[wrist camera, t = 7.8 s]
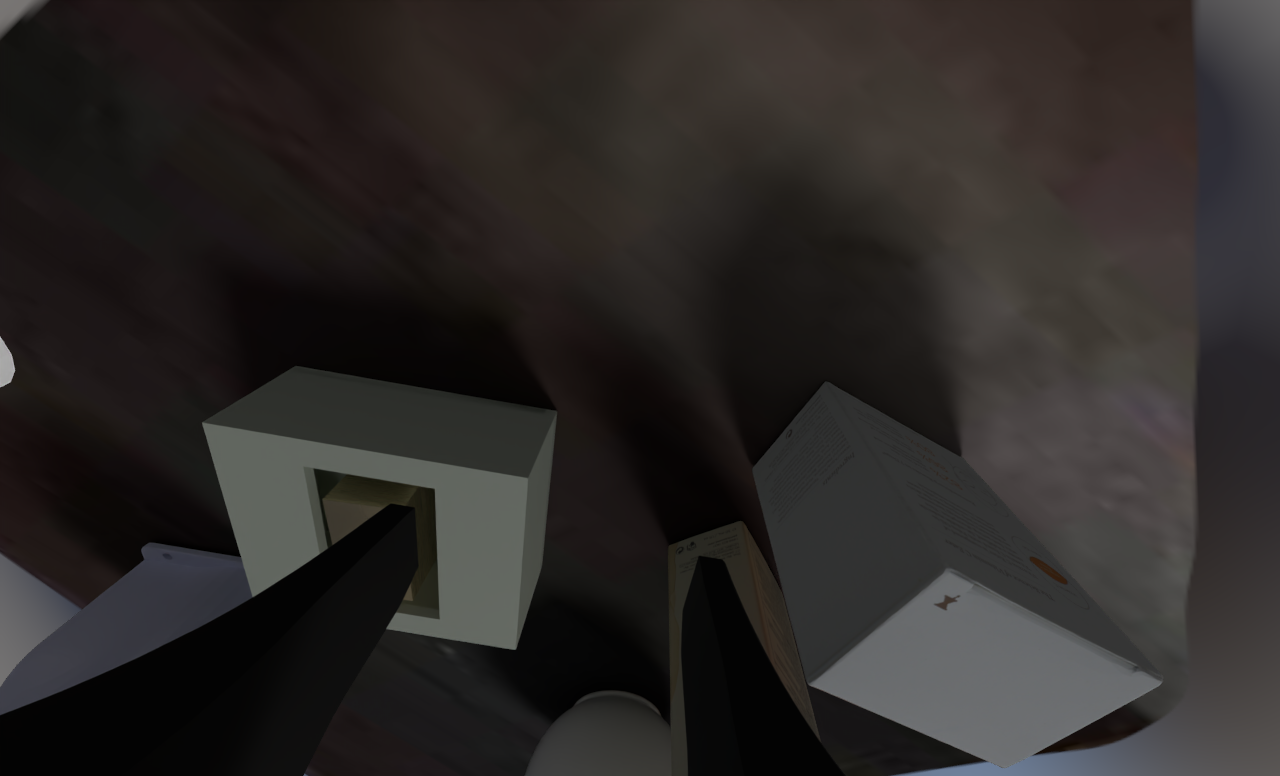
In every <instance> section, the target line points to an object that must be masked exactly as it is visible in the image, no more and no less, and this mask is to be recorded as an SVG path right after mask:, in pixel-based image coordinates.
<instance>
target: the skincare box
mask: <svg viewBox="0 0 1280 776" xmlns="http://www.w3.org/2000/svg"><path fill="white" fill-rule="evenodd" d="M699 556H705V557H711V558H717V559H723V561H724V562H725V563H726V566H727V568H728V571H729V574H730V576H731V579H732V581H733V584H734V586H735V588H736V591H737V593H738V595H739V598H740V600H741V602H742V604H743V607H744V609H745V611H746V613H747V615H748V618H749V620H750V622H751V624H752V626H753V628H754V630H755V632H756V634H757V636H758V638H759V640H760V642H761V644H762V646H763V648H764V650H765V652H766V654H767V656H768V657H769V659H770V661H771V663H772V665H773V666H774V668H775V670H776V672H777V674H778V675H779V677H780V679H781V681H782V682H783V684H784V686H785V688H786V689H787V691H788V693H789V694H790V696H791V698H792V699H793V701H794V702H795V704H796V706H797V707H798V709H799V710H800V712H801V713H802V715H803V716H804V718H805V720H806V721H807V723H808V724H809V726H810V727H811V729H812V730H813V731H814V733H815V734H816V736H817V737H818V739H819V740H820V737H819V733H818V730H817V726H816V722H815V718H814V714H813V710H812V707H811V703H810V699H809V695H808V691H807V687H806V683H805V680H804V676H803V672H802V668H801V664H800V660H799V656H798V653H797V649H796V645H795V641H794V637H793V633H792V629H791V626H790V622H789V618H788V614H787V610H786V606H785V603H784V599H783V595H782V593H781V591H780V588H779V586H778V584H777V582H776V580H775V578H774V576H773V575H772V573H771V571H770V569H769V567H768V565H767V563H766V561H765V559H764V558H763V556H762V554H761V552H760V550H759V548H758V546H757V545H756V543H755V541H754V539H753V537H752V536H751V534H750V532H749V531H748V529H747V527H746V525H745V524H744V522H743V521H738V522H735V523H732V524H729V525H726V526H723V527H720V528H717V529H714V530H711V531H708V532H705V533H702V534H699V535H697V536H693V537H691V538H688V539H685V540H682V541H680V542H677V543H675V544H672V545H669V547H668V575H669V634H670V696H671V776H688V761H687V740H686V725H685V710H684V695H683V680H682V664H681V632H682V610H683V607H684V603H685V600H686V597H687V593H688V590H689V587H690V583H691V580H692V577H693V573H694V570H695V567H696V563H697V560H698V557H699ZM820 742H821V741H820Z"/></svg>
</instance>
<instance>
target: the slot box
mask: <svg viewBox="0 0 1280 776" xmlns="http://www.w3.org/2000/svg"><path fill="white" fill-rule="evenodd" d="M556 417H557V411H554V410H548V409H542V408H537V407H531V406H525V405H519V404H514V403H508V402H502V401H496V400H490V399H485V398H479V397H473V396H467V395H462V394H456V393H450V392H444V391H438V390H433V389H427V388H421V387H415V386H410V385H404V384H398V383H392V382H386V381H381V380H375V379H369V378H363V377H358V376H352V375H346V374H340V373H335V372H329V371H323V370H317V369H311V368H306V367H300V366H295V367H293V368H291V369H290V370H288V371H286V372H285V373H283V374H282V375H280V376H278V377H277V378H275V379H273V380H272V381H270V382H268V383H267V384H265V385H263V386H262V387H260V388H258V389H257V390H255V391H253V392H252V393H250V394H248V395H247V396H245V397H244V398H242V399H240V400H239V401H237V402H235V403H234V404H232V405H230V406H229V407H227V408H225V409H224V410H222V411H220V412H219V413H217V414H215V415H214V416H212V417H211V418H209V419H207V420H206V421H204V422H202V424H203V427H204V431H205V434H206V438H207V441H208V445H209V448H210V452H211V455H212V458H213V462H214V465H215V469H216V472H217V476H218V479H219V483H220V486H221V489H222V493H223V496H224V500H225V503H226V507H227V510H228V514H229V517H230V521H231V524H232V527H233V531H234V534H235V538H236V541H237V545H238V548H239V552H240V555H241V558H242V562H243V565H244V569H245V572H246V576H247V579H248V583H249V586H250V590H251V593H252V596H253V597H254V596H256V595H257V594H259V593H260V592H262V591H264V590H265V589H267V588H268V587H270V586H272V585H273V584H275V583H276V582H278V581H279V580H281V579H283V578H284V577H286V576H287V575H289V574H290V573H292V572H293V571H295V570H297V569H298V568H300V567H301V566H303V565H304V564H306V563H307V562H309V561H310V560H311V559H313V558H314V557H316V556H317V555H319V554H320V553H322V552H323V551H324V550H326V549H327V548H329V547H330V546H332V541H331V536H330V532H329V527H328V523H327V518H326V514H325V509H324V505H323V500H322V499H323V498H324V497H325V496H326V495H327V494H328V493H329V492H330V491H331V490H332V489H333V488H334V487H335V486H336V485H337V484H338V483H339V482H340V481H341V480H342V479H343V478H344V477H345V476H346V475H347V474H351V475H357V476H363V477H368V478H374V479H380V480H386V481H392V482H398V483H404V484H410V485H416V486H421V487H427V488H433V489H435V506H436V533H437V559H436V561H435V563H434V564H433V566H432V568H431V570H430V571H429V573H428V575H427V577H426V579H425V580H424V582H423V584H422V586H421V587H420V589H419V591H418V593H417V594H416V596H415V598H414V600H413V601H409V600H403V601H402V603H401V605H400V607H399V608H398V610H397V612H396V613H395V615H394V617H393V618H392V620H391V622H390V623H389V625H388V627H387V628H386V629H391V630H397V631H403V632H409V633H415V634H421V635H427V636H433V637H439V638H445V639H452V640H458V641H464V642H470V643H476V644H482V645H488V646H494V647H500V648H506V649H512V650H516V648H517V645H518V641H519V638H520V635H521V632H522V628H523V625H524V622H525V619H526V616H527V612H528V609H529V606H530V603H531V599H532V596H533V593H534V590H535V587H536V583H537V580H538V577H539V574H540V570H541V567H542V560H543V549H544V539H545V529H546V519H547V509H548V499H549V488H550V478H551V468H552V458H553V448H554V438H555V427H556Z"/></svg>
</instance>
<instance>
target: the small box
mask: <svg viewBox="0 0 1280 776" xmlns="http://www.w3.org/2000/svg"><path fill="white" fill-rule="evenodd" d="M752 472H753V476H754V480H755V484H756V488H757V492H758V496H759V500H760V504H761V507H762V511H763V515H764V520H765V523H766V527H767V530H768V534H769V538H770V542H771V546H772V550H773V554H774V558H775V562H776V565H777V569H778V573H779V577H780V581H781V585H782V589H783V593H784V597H785V601H786V605H787V608H788V612H789V616H790V620H791V624H792V627H793V631H794V635H795V638H796V642H797V646H798V651H799V655H800V658H801V662H802V665H803V669H804V673H805V677H806V681H807V683H808V685H809V686H812V687H815V688H818V689H820V690H822V691H825V692H827V693H829V694H832V695H834V696H836V697H839V698H841V699H843V700H846V701H848V702H850V703H853V704H855V705H858V706H860V707H862V708H865V709H867V710H869V711H872V712H874V713H876V714H879V715H881V716H883V717H886V718H888V719H891V720H893V721H895V722H898V723H900V724H902V725H905V726H907V727H909V728H912V729H914V730H916V731H918V732H921V733H923V734H925V735H928V736H930V737H932V738H935V739H937V740H939V741H942V742H944V743H947V744H949V745H952V746H954V747H956V748H958V749H961V750H963V751H965V752H967V753H970V754H972V755H974V756H977V757H979V758H981V759H984V760H986V761H988V762H991V763H993V764H995V765H998V766H999V767H1001V768H1007V767H1009V766H1011V765H1013V764H1015V763H1017V762H1020V761H1022V760H1024V759H1026V758H1028V757H1029V756H1031V755H1033V754H1035V753H1037V752H1039V751H1041V750H1042V749H1044V748H1046V747H1048V746H1050V745H1051V744H1053V743H1055V742H1057V741H1059V740H1061V739H1063V738H1064V737H1066V736H1068V735H1070V734H1072V733H1074V732H1076V731H1077V730H1079V729H1081V728H1083V727H1085V726H1087V725H1088V724H1090V723H1092V722H1094V721H1096V720H1098V719H1099V718H1101V717H1103V716H1105V715H1107V714H1109V713H1110V712H1112V711H1114V710H1116V709H1118V708H1120V707H1121V706H1123V705H1125V704H1127V703H1129V702H1131V701H1132V700H1134V699H1136V698H1138V697H1140V696H1142V695H1143V694H1145V693H1147V692H1149V691H1151V690H1152V689H1154V688H1156V687H1158V686H1160V684H1161V683H1162V682H1163V676H1162V675H1161V673H1160V672H1159V671H1158V670H1157V669H1156V668H1155V667H1154V666H1153V664H1152V663H1151V662H1150V661H1149V660H1148V659H1147V658H1146V657H1145V656H1144V655H1143V654H1142V652H1141V651H1140V650H1139V649H1138V648H1137V647H1136V646H1135V645H1134V644H1133V642H1132V641H1131V640H1130V639H1129V638H1128V637H1127V636H1126V635H1125V634H1124V633H1123V632H1122V630H1121V629H1120V628H1119V627H1118V626H1117V625H1116V624H1115V623H1114V622H1113V621H1112V620H1111V619H1110V617H1109V616H1108V615H1107V614H1106V613H1105V612H1104V611H1103V610H1102V609H1101V608H1100V607H1099V606H1098V604H1097V603H1096V602H1095V601H1094V600H1093V599H1092V598H1091V597H1090V596H1089V595H1088V594H1087V592H1086V591H1085V590H1084V589H1083V588H1082V587H1081V586H1080V585H1079V584H1078V583H1077V581H1076V580H1075V579H1074V578H1073V577H1072V576H1071V575H1070V574H1069V573H1068V572H1067V571H1066V570H1065V569H1064V568H1063V566H1062V565H1061V564H1060V563H1059V562H1058V561H1057V560H1056V559H1055V558H1054V557H1053V555H1052V554H1051V553H1050V552H1049V551H1048V550H1047V549H1046V548H1045V547H1044V546H1043V545H1042V544H1041V543H1040V541H1039V540H1038V539H1037V538H1036V537H1035V536H1034V535H1033V534H1032V533H1031V532H1030V530H1029V529H1028V528H1027V527H1026V526H1025V525H1024V524H1023V523H1022V522H1021V521H1020V520H1019V519H1018V518H1017V516H1016V515H1015V514H1014V513H1013V512H1012V511H1011V510H1010V509H1009V508H1008V507H1007V505H1006V504H1005V503H1004V502H1003V501H1002V500H1001V499H1000V498H999V497H998V496H997V495H996V494H995V492H994V491H993V490H992V489H991V488H990V487H989V486H988V485H987V484H986V483H985V481H984V480H983V479H982V478H981V477H980V476H979V475H978V474H977V473H976V472H975V471H974V469H973V468H972V467H971V466H970V465H969V464H968V463H967V462H966V461H965V460H964V459H963V458H962V457H960V456H958V455H956V454H954V453H952V452H951V451H949V450H947V449H945V448H943V447H942V446H940V445H938V444H936V443H935V442H933V441H931V440H929V439H927V438H926V437H924V436H922V435H920V434H919V433H917V432H915V431H913V430H912V429H910V428H908V427H906V426H905V425H903V424H901V423H899V422H897V421H896V420H894V419H892V418H891V417H889V416H887V415H885V414H884V413H882V412H880V411H878V410H877V409H875V408H873V407H871V406H869V405H868V404H866V403H864V402H862V401H860V400H859V399H857V398H855V397H853V396H852V395H850V394H848V393H846V392H845V391H843V390H841V389H839V388H838V387H836V386H834V385H833V384H831V383H830V382H827V381H825V382H824V383H823V385H822V386H821V387H820V388H819V389H818V391H817V392H816V393H815V394H814V395H813V397H812V398H811V399H810V400H809V401H808V403H807V404H806V405H805V406H804V407H803V409H802V410H801V411H800V412H799V413H798V414H797V416H796V417H795V418H794V419H793V421H792V422H791V423H790V424H789V425H788V427H787V428H786V429H785V430H784V431H783V433H782V434H781V435H780V436H779V438H778V439H777V440H776V441H775V442H774V443H773V445H772V446H771V447H770V448H769V449H768V451H767V452H766V453H765V454H764V455H763V456H762V458H761V459H760V460H759V461H758V462H757V464H756V465H755V466H754V467H753V469H752Z"/></svg>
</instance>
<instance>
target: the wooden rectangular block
mask: <svg viewBox="0 0 1280 776" xmlns="http://www.w3.org/2000/svg"><path fill="white" fill-rule="evenodd" d="M322 500H323V505H324V509H325V514H326V518H327V523H328V527H329V532H330V536H331V541H332V545H333V544H335V543H336V542H337V541H339V540H340V539H342V538H343V537H344V536H346V535H347V534H349V533H350V532H351V531H353V530H354V529H356V528H357V527H358V526H360V525H361V524H362V523H364V522H365V521H367V520H368V519H369V518H371V517H372V516H373V515H375V514H376V513H378V512H379V511H380V510H382V509H383V508H385V507H386V506H388V505H389V504H397V505H403V506H409V507H415V517H416V533H417V549H418V565H419V566H418V568H417V571H416V573H415V575H414V577H413V580H412V582H411V584H410V586H409V588H408V590H407V592H406V595H405V597H404V599H403V600H409V601H413V600H414V598H415V596H416V594H417V593H418V591H419V589H420V587H421V586H422V584H423V582H424V580H425V579H426V577H427V575H428V573H429V571H430V570H431V568H432V566H433V564H434V563H435V561H436V559H437V533H436V506H435V489H433V488H427V487H421V486H416V485H410V484H404V483H398V482H392V481H386V480H380V479H374V478H368V477H363V476H357V475H351V474H347V475H346V476H345V477H344V478H343V479H342V480H341V481H340V482H339V483H338V484H337V485H336V486H335V487H334V488H333V489H332V490H331V491H330V492H329V493H328V494H327V495H326V496H325V497H324V498H323V499H322Z"/></svg>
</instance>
